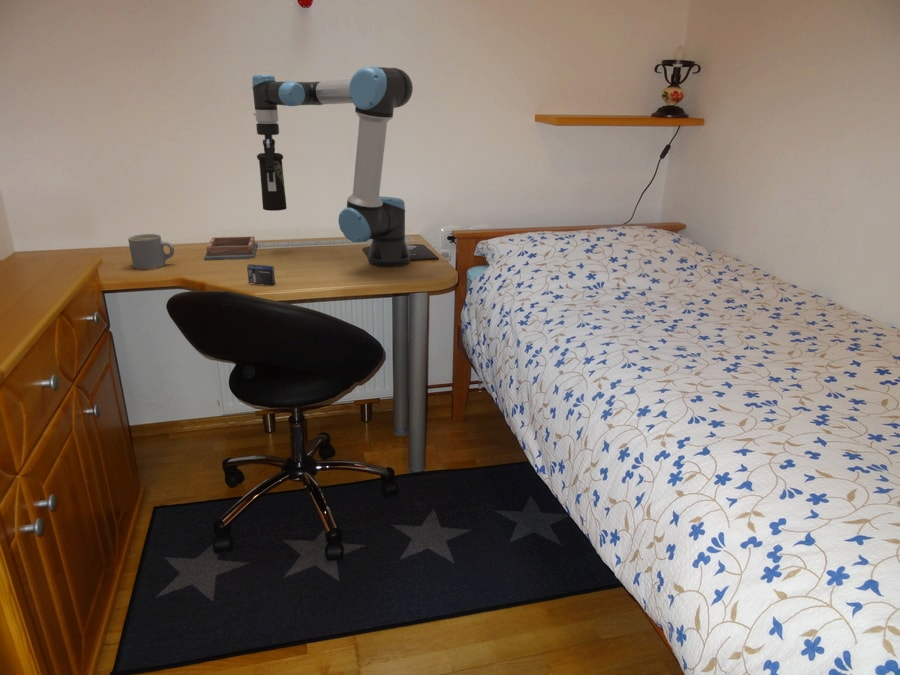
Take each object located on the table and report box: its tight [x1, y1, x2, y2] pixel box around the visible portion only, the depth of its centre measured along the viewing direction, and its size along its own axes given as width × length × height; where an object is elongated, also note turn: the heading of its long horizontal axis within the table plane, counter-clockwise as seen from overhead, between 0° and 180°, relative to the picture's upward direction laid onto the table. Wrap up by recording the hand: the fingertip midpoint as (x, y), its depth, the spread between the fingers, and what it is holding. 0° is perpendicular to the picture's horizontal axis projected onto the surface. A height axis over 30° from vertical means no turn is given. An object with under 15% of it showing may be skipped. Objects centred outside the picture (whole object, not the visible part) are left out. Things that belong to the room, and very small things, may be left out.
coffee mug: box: [128, 233, 175, 270], centre depth 210 cm, size 13×10×10 cm
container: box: [256, 152, 288, 212], centre depth 223 cm, size 9×9×20 cm
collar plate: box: [203, 236, 259, 261], centre depth 229 cm, size 20×17×4 cm
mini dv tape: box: [246, 263, 276, 286], centre depth 195 cm, size 8×2×6 cm, turn 80°
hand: (273, 188), depth 224 cm, fingers closed on container, 8 cm apart
